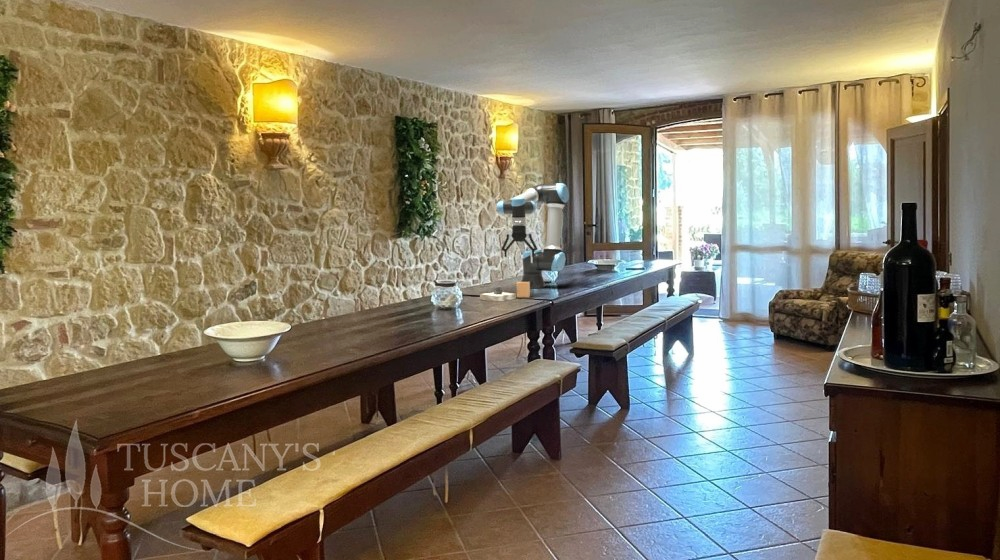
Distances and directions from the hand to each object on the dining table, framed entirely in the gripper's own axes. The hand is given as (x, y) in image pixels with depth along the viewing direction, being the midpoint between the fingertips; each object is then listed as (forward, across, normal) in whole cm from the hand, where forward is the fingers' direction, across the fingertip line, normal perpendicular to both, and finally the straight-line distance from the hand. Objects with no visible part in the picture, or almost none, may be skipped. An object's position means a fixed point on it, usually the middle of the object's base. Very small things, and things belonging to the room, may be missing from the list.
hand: (519, 263), depth 393 cm
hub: (+19, -11, -11) cm, 25 cm away
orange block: (+19, +2, 0) cm, 19 cm away
